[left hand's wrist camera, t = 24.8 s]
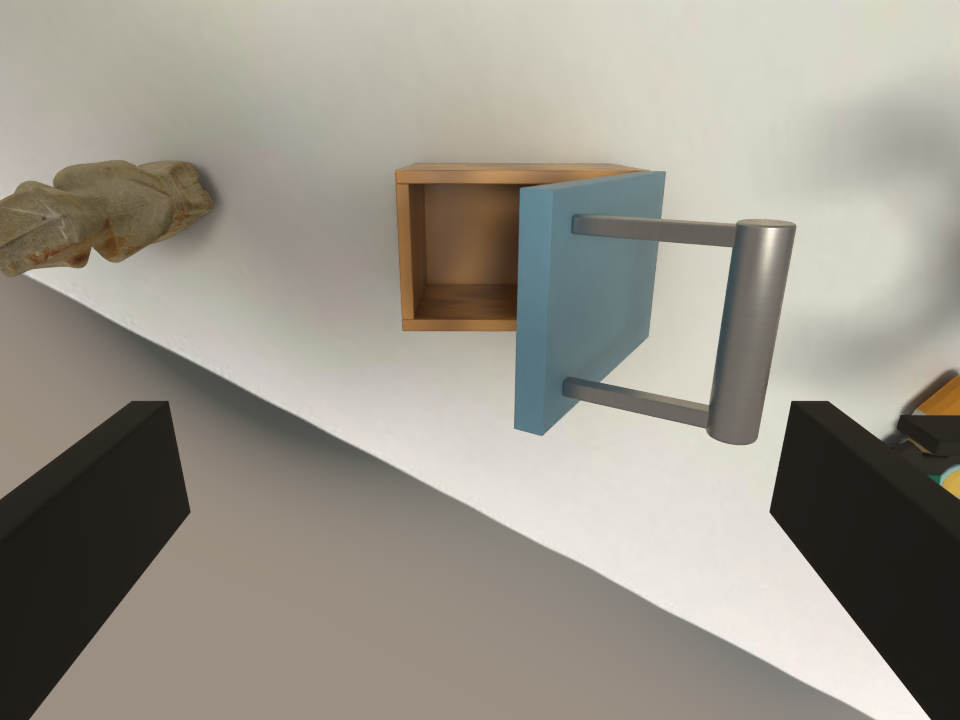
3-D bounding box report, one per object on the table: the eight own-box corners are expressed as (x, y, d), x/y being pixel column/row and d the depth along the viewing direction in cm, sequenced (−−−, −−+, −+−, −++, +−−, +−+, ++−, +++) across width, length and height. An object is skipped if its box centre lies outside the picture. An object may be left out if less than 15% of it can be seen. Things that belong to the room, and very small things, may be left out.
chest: (418, 291, 46) (402, 331, 37) (414, 163, 43) (394, 170, 33) (603, 291, 46) (635, 331, 37) (612, 163, 43) (651, 170, 33)
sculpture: (109, 176, 43) (-69, 194, 29) (198, 142, 42) (58, 144, 28) (150, 252, 45) (1, 303, 31) (235, 221, 44) (122, 259, 30)
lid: (513, 428, 24) (744, 490, 20) (519, 188, 21) (796, 200, 17) (627, 333, 36) (786, 359, 32) (642, 170, 33) (822, 175, 29)
